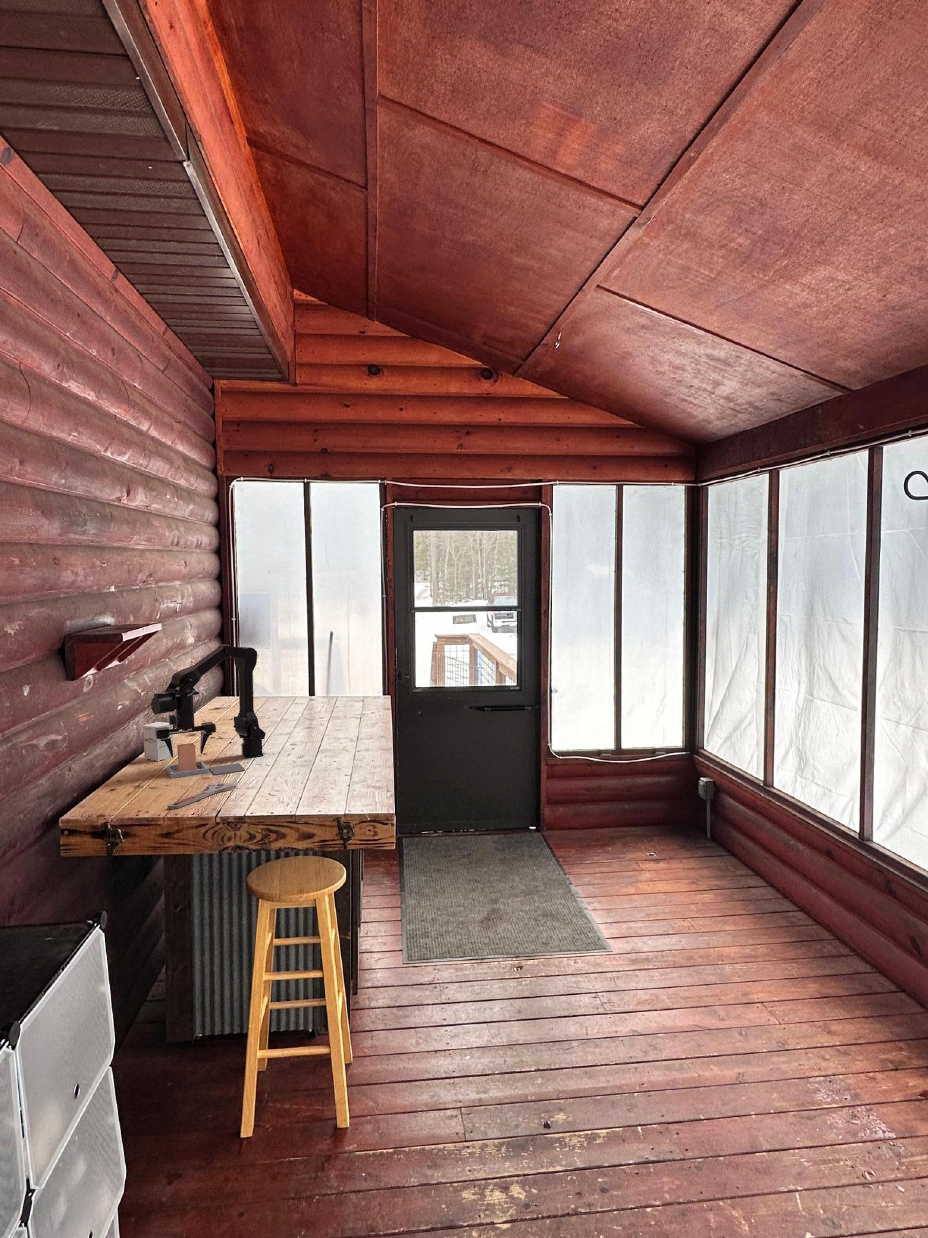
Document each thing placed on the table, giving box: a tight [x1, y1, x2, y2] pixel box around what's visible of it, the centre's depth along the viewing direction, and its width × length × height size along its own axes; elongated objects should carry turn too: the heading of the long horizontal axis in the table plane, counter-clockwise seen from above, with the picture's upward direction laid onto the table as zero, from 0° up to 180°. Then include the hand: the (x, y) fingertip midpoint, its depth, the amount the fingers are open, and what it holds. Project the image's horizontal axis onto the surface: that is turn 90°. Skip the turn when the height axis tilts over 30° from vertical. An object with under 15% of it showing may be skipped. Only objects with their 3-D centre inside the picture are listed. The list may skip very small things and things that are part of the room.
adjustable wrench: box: [167, 779, 238, 810], centre depth 218 cm, size 8×26×2 cm, turn 150°
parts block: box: [176, 742, 197, 772], centre depth 246 cm, size 5×5×9 cm
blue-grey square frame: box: [166, 760, 209, 779], centre depth 246 cm, size 12×12×2 cm
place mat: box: [208, 762, 246, 776], centre depth 247 cm, size 10×10×1 cm
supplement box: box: [142, 721, 175, 762], centre depth 264 cm, size 7×7×13 cm
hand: (186, 755), depth 246 cm, fingers open, 9 cm apart
